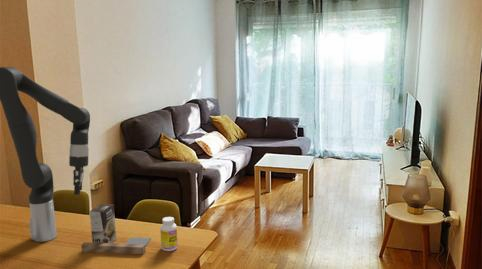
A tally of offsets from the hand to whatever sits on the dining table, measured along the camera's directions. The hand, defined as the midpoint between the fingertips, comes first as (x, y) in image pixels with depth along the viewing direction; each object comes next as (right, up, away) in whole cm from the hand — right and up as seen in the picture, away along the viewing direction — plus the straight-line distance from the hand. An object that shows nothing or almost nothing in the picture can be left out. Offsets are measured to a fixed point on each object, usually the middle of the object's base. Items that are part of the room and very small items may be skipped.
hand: (78, 192), depth 169 cm
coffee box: (+12, -22, 0) cm, 25 cm away
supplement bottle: (+40, -23, -5) cm, 46 cm away
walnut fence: (+18, -23, -8) cm, 30 cm away
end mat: (+25, -22, -2) cm, 34 cm away
